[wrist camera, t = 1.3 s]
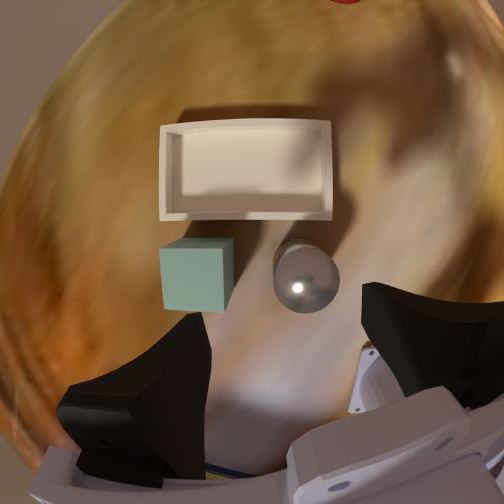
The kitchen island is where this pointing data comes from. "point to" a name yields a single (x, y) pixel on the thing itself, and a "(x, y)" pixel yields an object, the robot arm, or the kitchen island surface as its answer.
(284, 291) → the silver metal cylinder
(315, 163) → the parts tray
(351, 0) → the paper cup
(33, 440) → the kitchen island surface
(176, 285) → the teal block
